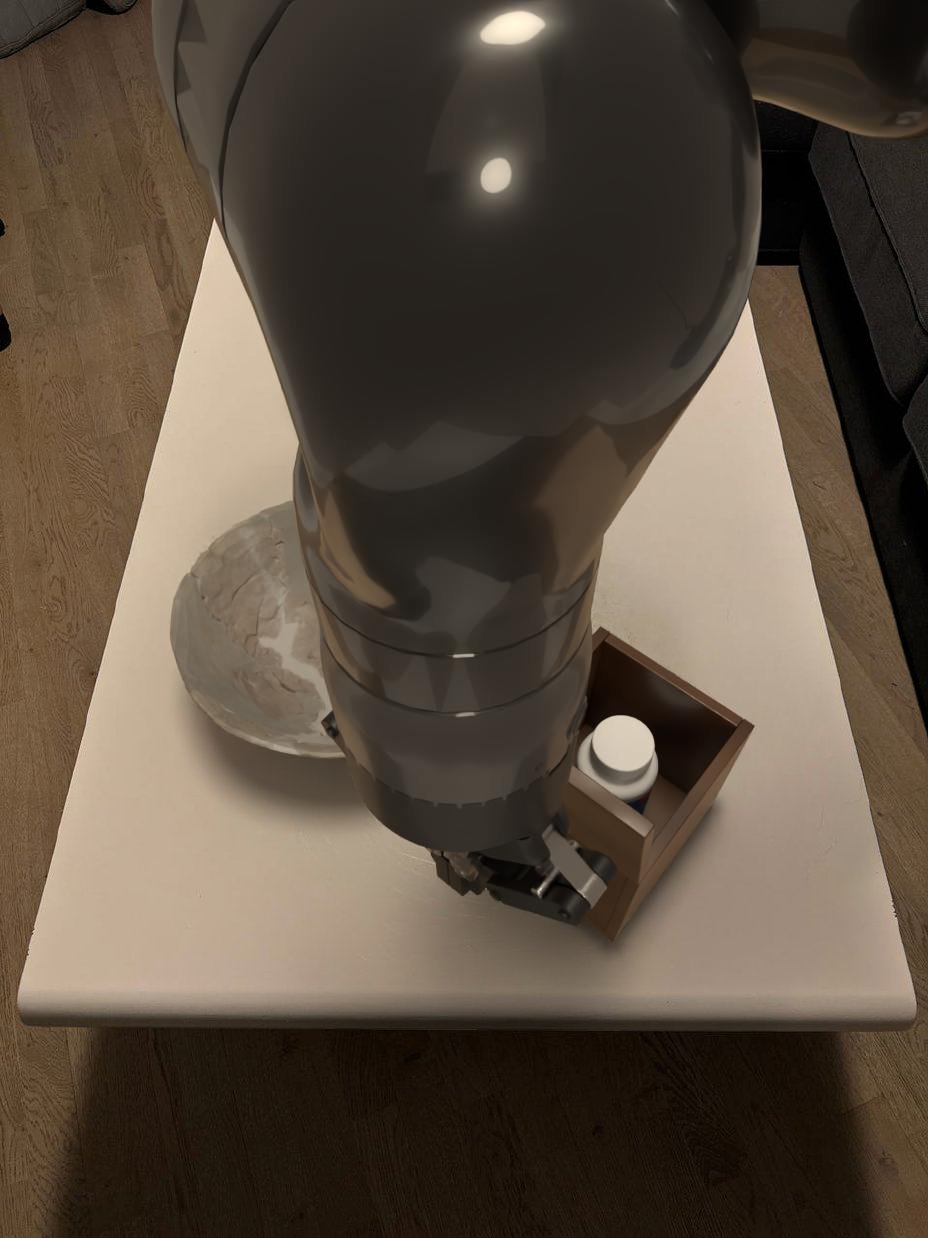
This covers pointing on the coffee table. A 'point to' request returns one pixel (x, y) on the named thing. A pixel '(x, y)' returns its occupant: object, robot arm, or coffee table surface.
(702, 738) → the chest
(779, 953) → the coffee table surface
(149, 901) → the coffee table surface
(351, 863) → the coffee table surface
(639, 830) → the lid
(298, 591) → the ceramic bowl
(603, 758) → the pill bottle
